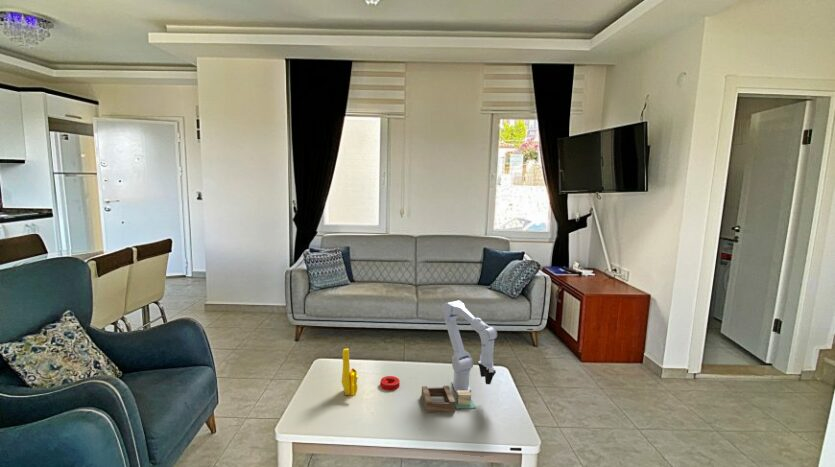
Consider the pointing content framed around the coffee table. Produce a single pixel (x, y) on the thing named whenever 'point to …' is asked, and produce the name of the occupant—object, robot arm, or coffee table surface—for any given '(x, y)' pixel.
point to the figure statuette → (348, 375)
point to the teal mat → (464, 405)
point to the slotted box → (438, 399)
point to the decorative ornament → (390, 383)
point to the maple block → (463, 397)
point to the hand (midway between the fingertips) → (485, 380)
